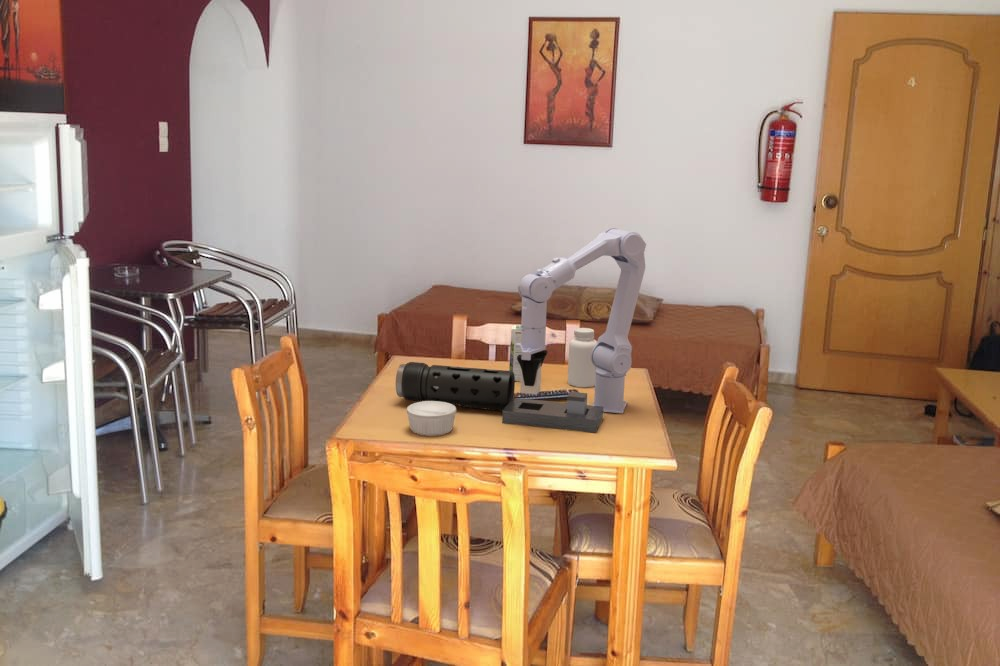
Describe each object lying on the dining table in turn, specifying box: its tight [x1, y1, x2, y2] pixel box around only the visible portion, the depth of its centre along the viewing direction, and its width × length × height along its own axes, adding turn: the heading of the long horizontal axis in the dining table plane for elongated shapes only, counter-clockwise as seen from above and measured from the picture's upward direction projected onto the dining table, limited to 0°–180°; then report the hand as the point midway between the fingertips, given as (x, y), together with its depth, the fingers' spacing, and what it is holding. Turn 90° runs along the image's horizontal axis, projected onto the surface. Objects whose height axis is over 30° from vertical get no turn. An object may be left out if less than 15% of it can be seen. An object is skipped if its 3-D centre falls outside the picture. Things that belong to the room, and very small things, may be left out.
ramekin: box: [406, 401, 457, 437], centre depth 214 cm, size 11×11×5 cm
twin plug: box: [566, 391, 588, 415], centre depth 221 cm, size 4×4×7 cm
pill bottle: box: [567, 327, 598, 388], centre depth 254 cm, size 8×8×15 cm
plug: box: [519, 361, 542, 395], centre depth 222 cm, size 4×4×7 cm
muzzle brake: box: [395, 361, 516, 411], centre depth 232 cm, size 10×28×10 cm, turn 78°
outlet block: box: [501, 397, 604, 434], centre depth 223 cm, size 11×22×3 cm, turn 76°
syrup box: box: [508, 324, 522, 382], centre depth 257 cm, size 6×6×14 cm
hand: (531, 383), depth 223 cm, fingers closed on plug, 4 cm apart
